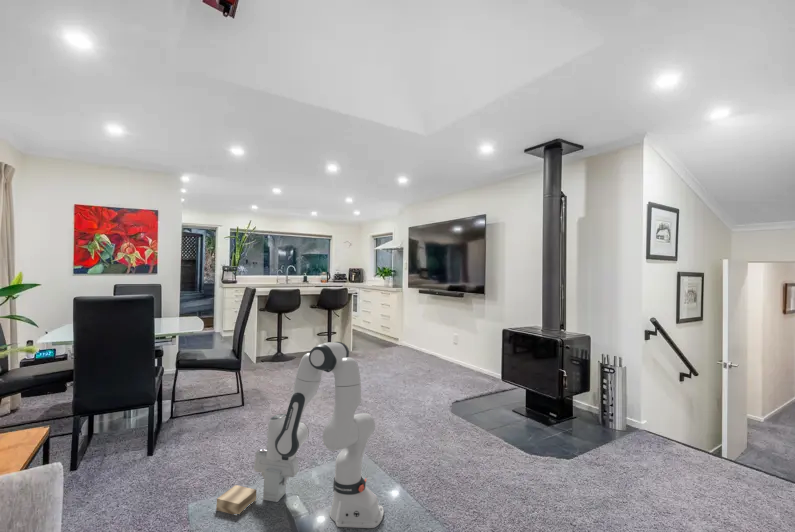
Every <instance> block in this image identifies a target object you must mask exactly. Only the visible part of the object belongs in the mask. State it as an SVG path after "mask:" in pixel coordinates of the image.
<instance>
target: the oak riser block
mask: <svg viewBox="0 0 795 532" xmlns="http://www.w3.org/2000/svg"><path fill="white" fill-rule="evenodd" d="M255 500H256V501H257V489H256V488H255V489H254V488H251V487H246V486H242V485H237V484H235V485H234V486H232V487H231V488H229V489H228V490H227V491H225V492H224V493H222V494H221V495H220V496H218V497H217V498H216V507H215V508H216V510H215V511H218V512H221V513H222V512H223V513H226V514H230V515H233V514H240V513H241V512H242V511H243V510H244V509H245V508H246V507H247V506H248V505H249V504H251V503H252V502H254V501H255ZM256 501H255V502H256ZM255 502H254V503H255ZM243 512H244V511H243ZM243 512H242V513H243ZM242 513H241V514H242ZM241 514H240V515H241Z"/></svg>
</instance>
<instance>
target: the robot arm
mask: <svg viewBox="0 0 795 532" xmlns="http://www.w3.org/2000/svg"><path fill="white" fill-rule="evenodd" d="M301 357H302V358H301V359H300V362H299V365H298V367H297V370H296V375H295V378H294V379H295V380H294V385H293V388H292V393H291V398H290V401H289V404H288V407H287V411H286V413H279V414H275V415H274V416H272V417H271V418H270V419H269V421H268V425H267V432H266V433H267V434H266V437H267V442H266V449H258V450H256V452H255V460H254V463H253V464H254V465H253V470H254V471H255V472H256V473H261V475H262V478H263V479H264V473H265V470H266V469H275V470H281V475H282V476H284V478H286V479H285V480H283V481H282V485H284V486H285V485H286V486H287V485H288V479H289V478H294V477H295V476H297V474H298V473H299V459H298V457H297V455H298V450H299V449H300V448H301V447H302V446H303V444H304V443H305V442H307V440H308V439H309V435H310V431H309V430H310V429H309V427H308V426H307V425H306V424H305V423H304V422H301V420H302V416H303V414H304V411H305V409H306V407H308V405H309V403H310V402H311V401H312V400H313V399H314V397H315V396H316V395H317V392H318V390H319V388H320V383H321V380H322V375H323V372H325V373H326V372H327V373H330V372H332V373H333V377H334V406H333V410H332V411H333V412H332V414H331V417H330V420H329V422H328V424H327V425H326V426H325V428H324V429H323V431H322V436H321V437H322V442H323V445H324V447H325V448H326V449H327V450H328V451H329V452H336V451H340V452H339V453H338V454H337V457H336V458H335V462H334V465H335V466H334V467H335V469H334V477H333V483H332V484H333V485H332V490H333V495H332V496H333V497H332V504H331V507H330V510H329V517H330V518H331V520H332V521H333V522H334V523H335V525H336V527H338V528H357V529H358V528H359V529H360V528H361V529H374V528H376V527H378V526H379V525H380V524H381V522H382V520H383V519H384V514H385V513H384V507H383V506H382V505H379V500H378V496H377V495H376V494H375V493H374V492H373V491H372V490H371V489H370V488H368V487H367V486H366V485H367V484H366V483H367V478H365V479H364V478H363V476H362V473H363V472H362V469H363V459H364V455H365V451H366V447H367V445H368V443H369V441H370V438H371V437H372V435H374V433H375V429H376V423H375V419H374V418H373V416H372V415H371V414H370V413H367V412H365V413H356V412H357V409H358V408H359V407H360V405H361V403H362V384H361V374H360V373H361V372H360V369H359V368H360V367H359V364H358V361H357V360H356V359H355V358H353V357H350V350H349V348H348V346H347V344H345V343H343V342H341V341H333V342H331V341H330V342H329V341H328V342H324V343H320V344H319V343H318V344H317V345H316V346H314V347H312V349H311V350H310V351H309V352H307V353H304V355H303V356H301Z"/></svg>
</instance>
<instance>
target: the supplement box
mask: <svg viewBox="0 0 795 532" xmlns="http://www.w3.org/2000/svg"><path fill="white" fill-rule="evenodd" d="M285 479H286V478H284V476H282V475H281V470H275V469H266V470H265V473H264V478H263V493H262V494H263V495H262V496H263V497H262V499H263V500H264V501H269V502H276V503H278V502H279V501H280V500H281V498H283V496H284V495H285V494H286V493H287V484H286V485H285V486H284V485H282V481H283V480H285Z"/></svg>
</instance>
